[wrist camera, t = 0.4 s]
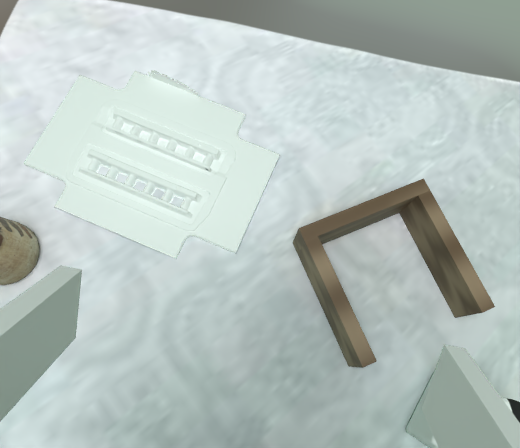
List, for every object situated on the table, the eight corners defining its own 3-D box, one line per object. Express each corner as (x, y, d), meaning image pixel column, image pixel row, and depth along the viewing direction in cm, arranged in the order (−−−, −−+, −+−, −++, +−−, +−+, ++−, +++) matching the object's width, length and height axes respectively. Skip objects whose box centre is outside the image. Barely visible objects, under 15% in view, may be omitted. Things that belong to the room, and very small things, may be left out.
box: (466, 312, 50) (495, 306, 45) (348, 366, 48) (362, 367, 43) (404, 197, 54) (423, 178, 48) (292, 242, 52) (298, 228, 46)
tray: (225, 281, 51) (223, 274, 48) (15, 194, 54) (-1, 182, 51) (289, 134, 57) (292, 119, 53) (97, 64, 60) (86, 45, 56)
